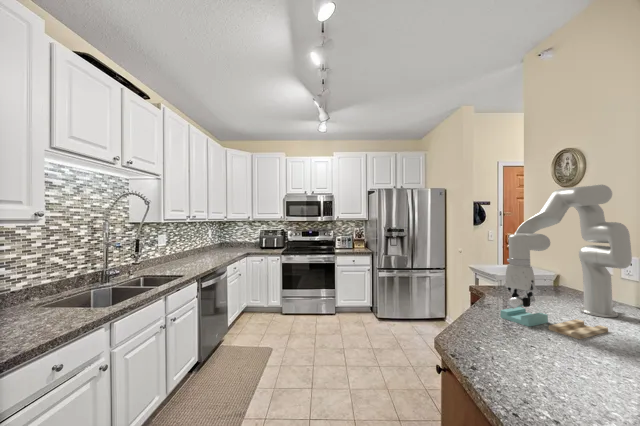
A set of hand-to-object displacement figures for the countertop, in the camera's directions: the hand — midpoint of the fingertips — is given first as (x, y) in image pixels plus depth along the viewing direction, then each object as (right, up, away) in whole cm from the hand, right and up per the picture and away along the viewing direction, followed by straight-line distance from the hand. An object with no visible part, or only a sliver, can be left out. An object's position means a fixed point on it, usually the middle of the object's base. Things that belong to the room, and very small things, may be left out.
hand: (521, 304), depth 122 cm
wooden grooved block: (+13, -7, -12) cm, 19 cm away
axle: (0, 0, 0) cm, 1 cm away
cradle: (+1, -7, 0) cm, 8 cm away
